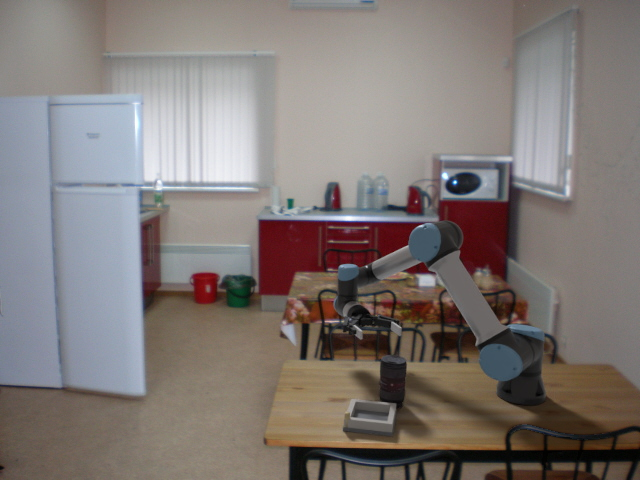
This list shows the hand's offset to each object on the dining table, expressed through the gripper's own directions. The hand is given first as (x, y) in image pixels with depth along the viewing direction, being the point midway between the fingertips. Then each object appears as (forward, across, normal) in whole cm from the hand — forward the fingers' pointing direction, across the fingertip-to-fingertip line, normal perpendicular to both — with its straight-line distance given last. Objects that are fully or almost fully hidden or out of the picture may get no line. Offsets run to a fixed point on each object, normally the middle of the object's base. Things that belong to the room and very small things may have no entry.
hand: (381, 333), depth 191 cm
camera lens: (+10, 0, -20) cm, 22 cm away
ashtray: (+19, +11, -20) cm, 29 cm away
